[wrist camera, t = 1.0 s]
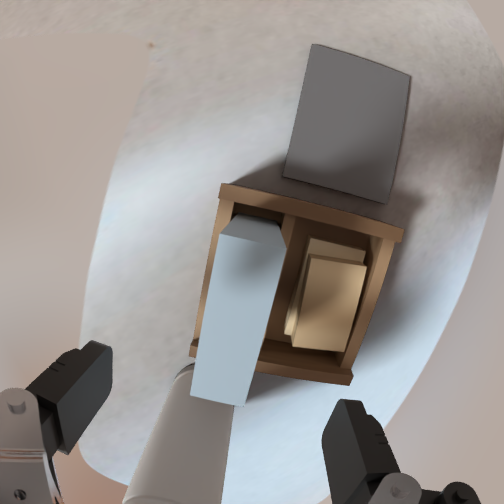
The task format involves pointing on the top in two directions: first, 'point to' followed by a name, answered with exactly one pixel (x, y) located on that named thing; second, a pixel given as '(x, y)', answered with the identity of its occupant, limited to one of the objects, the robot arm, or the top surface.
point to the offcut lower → (313, 247)
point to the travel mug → (184, 450)
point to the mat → (348, 125)
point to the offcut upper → (327, 302)
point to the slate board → (237, 308)
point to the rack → (295, 235)
